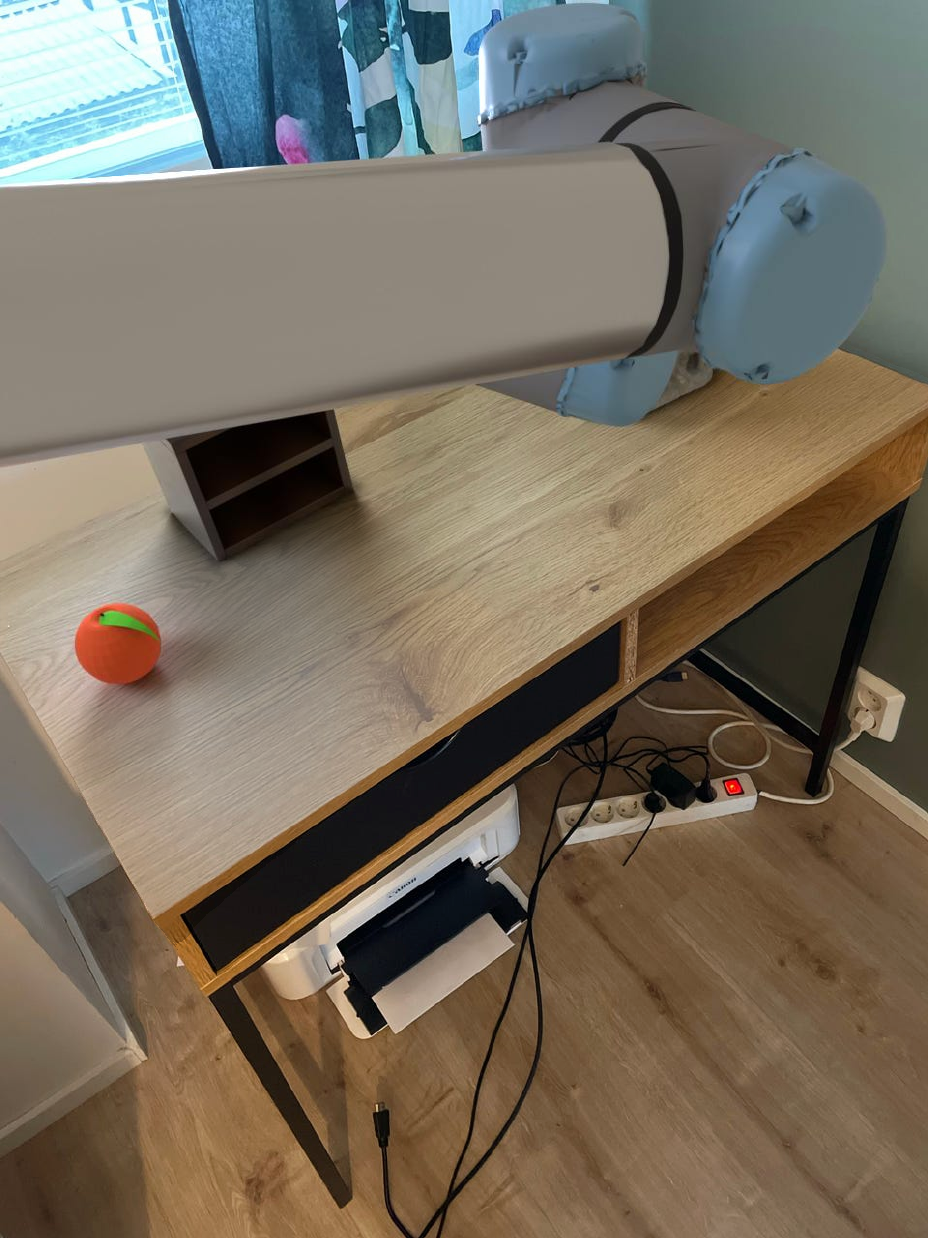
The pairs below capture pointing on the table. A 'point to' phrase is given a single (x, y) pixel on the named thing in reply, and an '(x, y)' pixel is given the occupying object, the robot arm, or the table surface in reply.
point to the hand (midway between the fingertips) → (206, 243)
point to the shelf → (250, 477)
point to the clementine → (118, 643)
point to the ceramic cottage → (685, 377)
